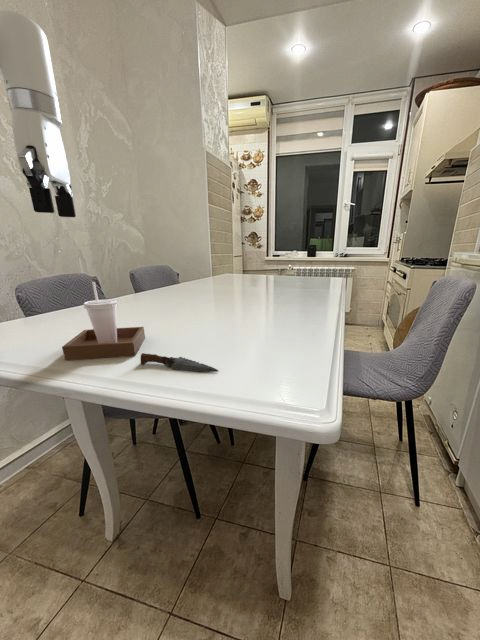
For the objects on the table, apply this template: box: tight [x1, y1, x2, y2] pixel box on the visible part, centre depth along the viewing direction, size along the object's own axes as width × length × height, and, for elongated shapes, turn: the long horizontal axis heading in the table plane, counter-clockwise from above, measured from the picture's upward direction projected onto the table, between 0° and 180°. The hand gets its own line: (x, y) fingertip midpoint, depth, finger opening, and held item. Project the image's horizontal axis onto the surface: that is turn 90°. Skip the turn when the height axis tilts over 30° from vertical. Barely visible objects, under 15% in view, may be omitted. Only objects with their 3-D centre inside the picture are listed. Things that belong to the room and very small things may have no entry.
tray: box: [61, 326, 146, 361], centre depth 66 cm, size 14×13×3 cm
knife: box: [140, 352, 219, 373], centre depth 56 cm, size 17×2×5 cm
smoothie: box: [83, 281, 118, 344], centre depth 64 cm, size 6×6×14 cm
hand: (57, 214), depth 58 cm, fingers open, 9 cm apart
